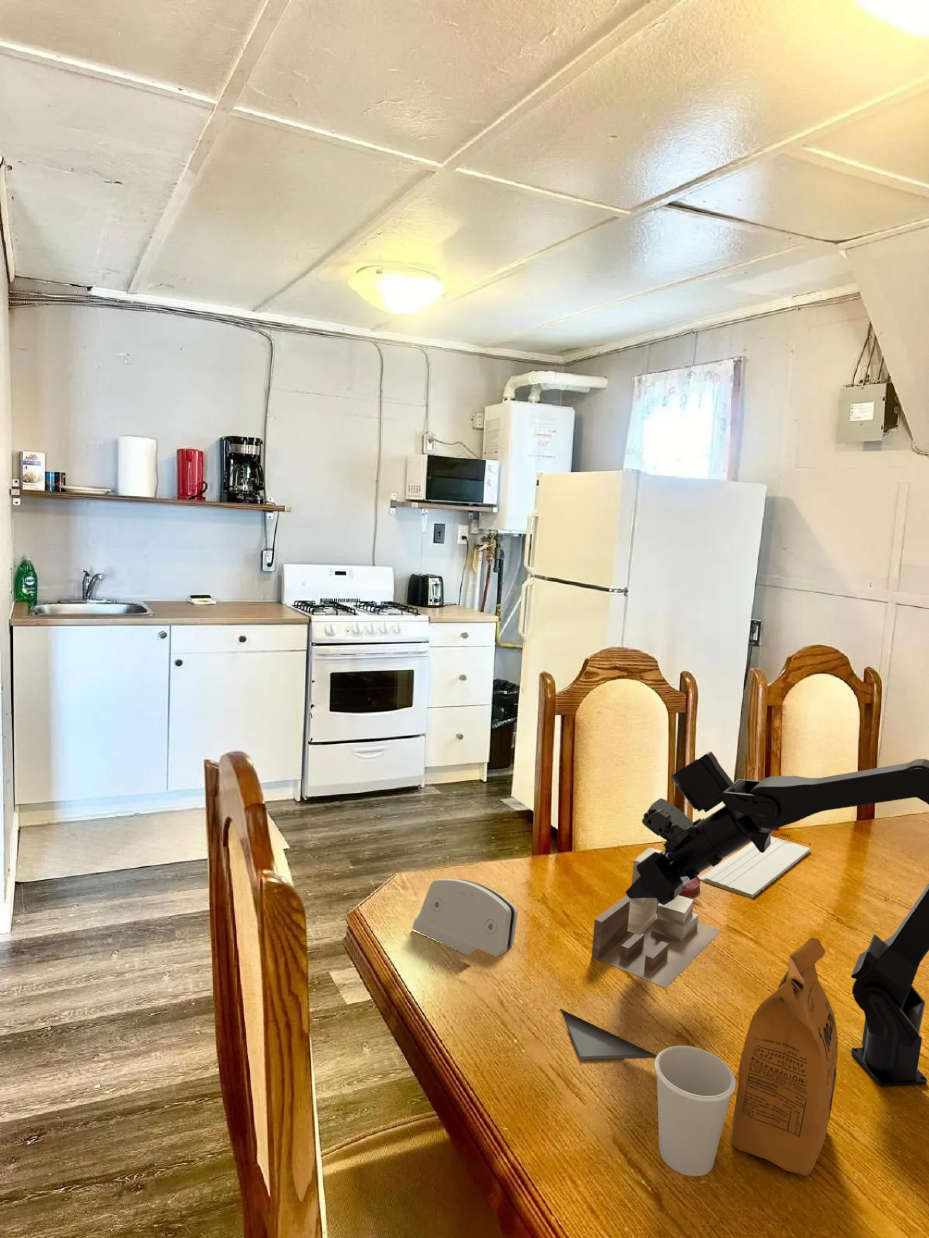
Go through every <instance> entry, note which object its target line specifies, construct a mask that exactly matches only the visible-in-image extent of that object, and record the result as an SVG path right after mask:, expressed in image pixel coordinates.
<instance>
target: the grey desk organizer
mask: <svg viewBox="0 0 929 1238" xmlns="http://www.w3.org/2000/svg"><path fill="white" fill-rule="evenodd" d="M658 904H659V901H658V900H657V907H658ZM629 908H630V898H629V897H628V896H627V894H625V896H624V897H622V898H621V899H620V900H618V901H617V902H616V903H615V904H613V905H611V906H610V907H609V908H608V909H606V910H605V911H604V912H603V913H601V914H600V915H599V916H596V918H594V921H593V922H594V924H593V925H594V926H593V934H592V935H593V936H592V937H593V938H592V947H591V958H594V959H595V960H598V961H600V962H603V963H605V964H608V965H610V966H612V967H615V968H617V969H618V970H622V971H623V972H626V973H629V974H631V975H633V976H635V977H639V978H641V979H642V980H645V981H648V982H650V983H652V984H654V985H657V986H659V987H660V988H663V989H667V988H668V987H669V986H670V985H671V984H672V983H673V982H674V981H675V980H676V979H677V977H679V975H681V973H683V972H684V971H685V969H686V968H687V967H688V966H689V965H690V964H691V963H692V961H694V960H695V959H696V958H697V957H698V956H699V955H700V953H701V952H702V951H704V949H705V948H707V947H708V945H710V943H711V942H712V941H714V939H715V938H717V936H718V935H719V934H720V933H721V932H722V930H721V929H719V928H715V927H712V926H711V925H708V924H704V923H702V922H699V921H698V924H697V928H696V929H695V930H694V931H693V932H692V933H691V934H690V935H689V936H688V937H687V938H686V939H685V940H683V941H682V942H680V941H677V940H674V939H672V938H669V937H667V936H664V935H662V934H659V933H656V932H654V931H651V928H652V924H651V925H650V926H649V927H648V928H647V929H646V930H645V931H644V932H643V933H642V934H641V935H638V934H635V933H632V932H629V931H628V919H629ZM656 914H657V909H656Z"/></svg>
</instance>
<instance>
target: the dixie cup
mask: <svg viewBox="0 0 929 1238" xmlns="http://www.w3.org/2000/svg"><path fill="white" fill-rule="evenodd" d="M656 1055H657V1057H655V1059H654V1069H655V1073H656V1084H657V1085H656V1089H657V1118H658V1146H659V1147H658V1149H659V1155H660V1157H661V1159H662V1160H663V1161H664V1163H665V1164H666V1165H667V1166H668V1167H670V1168H671V1169H672V1170H673V1171H676V1172H677V1173H679V1174H682V1175H685V1176H687V1177H700V1176H705V1175H707V1174H709V1173H710V1172H711V1171H712V1169H713V1167H714V1163H715V1159H716V1156H717V1152H718V1148H719V1143H720V1140H721V1136H722V1134H723V1129H724V1126H725V1125H724V1124H725V1121H726V1117H727V1114H728V1109H729V1105H730V1102H731V1097H732V1095H733V1093H734V1091H736V1086H737V1080H736V1075H735V1073H734V1071H732V1069H731V1066H729V1065H728V1064H727V1063H726V1062H725V1061H724V1060H723V1059H722V1058H720V1057H719V1056H717V1055H715V1054H714V1053H712V1052H710V1051H708V1050H705V1049H703V1048H700V1047H696V1046H691V1045H673V1046H669V1047H667V1048H664V1049H662V1050H661V1051H660V1052H659V1053H658V1054H656Z"/></svg>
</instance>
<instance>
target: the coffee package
mask: <svg viewBox="0 0 929 1238" xmlns="http://www.w3.org/2000/svg"><path fill="white" fill-rule="evenodd" d="M825 954H826V949H825V948H824V946H823V944H822V943H821V940H820V939H819V938H817V937H811V938H809V939H808V940H807V941H806V942H805V943H803V944H802V945H801V946H800V947H798V948H797V949H795V950H794V951H793V952H792V953H790V954H789V955H788V961H787V962H788V963H787V964H788V965H787V970H786V972H785V974H784V976H783V977H782V979H781V981H780V983H778V984H779V985H778V987H777V989H776V990H775V991H774V992H772V993H771V994H770V995H769V996H767V997H766V998H765V999H763V1001H762V1002H760V1004H759V1006H758V1007H757V1009H756V1010H755V1011H754V1013H753V1015H752V1017H751V1020H750V1023H749V1026H748V1030H747V1034H746V1036H745V1040H744V1044H743V1048H742V1052H741V1055H740V1061H739V1066H738V1082H737V1084H738V1085H737V1090H736V1096H735V1103H734V1110H733V1118H732V1125H731V1144H732V1145H733V1147H735V1148H736V1149H737V1150H739V1151H741V1152H745V1153H748V1154H749V1155H752V1156H755V1157H758V1158H761V1159H765V1160H767V1161H769V1162H771V1163H773V1164H774V1165H777V1166H778V1167H779V1168H781V1169H783V1170H785V1171H787V1172H790V1173H796V1174H798V1175H802V1176H806V1177H807V1176H808V1175H810V1174H811V1172H813V1169H814V1166H815V1165H816V1163H817V1161H818V1158H819V1156H820V1153H821V1151H822V1148H823V1146H824V1144H825V1140H826V1136H827V1132H828V1128H829V1123H830V1119H831V1111H832V1108H833V1107H832V1106H833V1100H834V1099H833V1098H834V1092H835V1088H836V1087H835V1086H836V1081H837V1069H838V1067H837V1066H838V1065H837V1064H838V1052H839V1051H838V1049H839V1048H838V1047H839V1043H838V1042H839V1040H838V1039H839V1038H838V1037H839V1036H838V1029H837V1023H836V1016H835V1012H834V1010H833V1007H832V1005H831V1003H830V1001H829V998H828V996H827V994H826V992H825V991H824V989H823V987H822V985H821V984H820V982H819V977H818V971H817V968H816V963H817V962H818V961H820V960H821V959H822V958H823V957H824V955H825Z"/></svg>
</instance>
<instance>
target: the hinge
mask: <svg viewBox="0 0 929 1238" xmlns="http://www.w3.org/2000/svg"><path fill="white" fill-rule="evenodd" d="M518 915H519V914H518V909H517V907H516V906H515V905H514V904H513V903H511V902H510V901H509V900H508V898H507V899H506V898H505V896H503V895H502V894H500V893H499V892H497V891H495V890H494V889H492V888H490V887H487V886H485V885H483V884H480V883H478V882H476V881H471V880H467V879H462V878H461V879H460V878H440V879H436V880H433V881H432V882H431V883H430V885H429V888H428V890H427V893H426V896H425V898H424V901H423V903H422V906H421V909H420V912H419V914H418V915H417V916H416V917H415V919H414V921H413V924H412V928H411V930H412V929H414V930H416V931H418V932H420V933H421V934H424V935H426V936H428V937H430V938H433V939H435V940H436V941H439V942H441V943H442V944H445V945H446V946H445V947H447V946H448V947H447V948H449V947H450V948H449V949H451V948H453V949H456V950H458V951H460V952H462V953H463V954H462V953H461V954H462V955H465V956H467V955H468V956H469V955H471V954H472V953H474V952H475V951H477V950H480V951H482V952H485V953H487V954H488V955H492V956H494V957H496V958H497V957H498V956H501V955H502V954H504V953H506V952H508V949H509V948H512V947H513V945H514V944H515V937H516V936H515V935H516V930H517V923H518ZM442 944H441V945H442ZM453 949H452V950H453ZM456 950H455V951H456ZM458 951H457V952H458ZM460 952H459V953H460Z"/></svg>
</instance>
